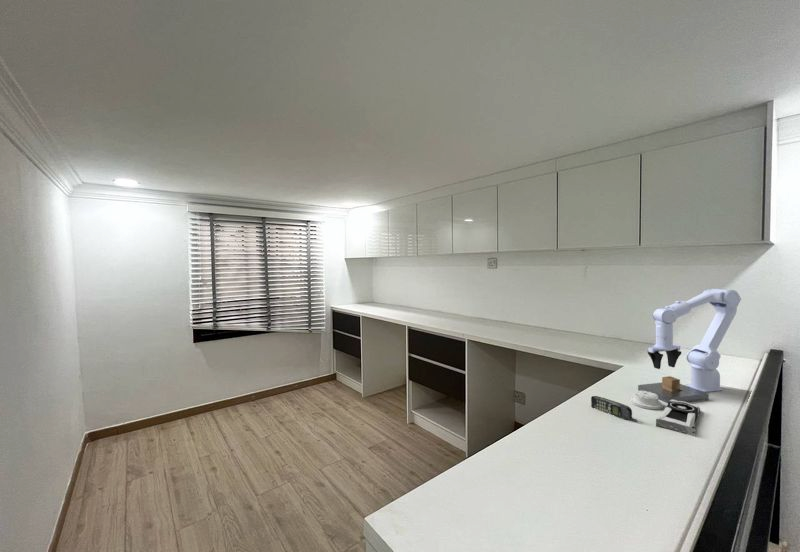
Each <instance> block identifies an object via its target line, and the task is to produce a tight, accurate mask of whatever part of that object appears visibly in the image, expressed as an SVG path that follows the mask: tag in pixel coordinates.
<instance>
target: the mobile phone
mask: <svg viewBox="0 0 800 552" xmlns="http://www.w3.org/2000/svg"><path fill="white" fill-rule="evenodd" d="M590 401H591V403H590V407H591V408H593V409H594V408H595V410H596V411H600V412H603V413H606V414H608V413H609V414H608V415H610V416H611V415H612V416H613V415H614V416H613V417H616V418H619V419H623V420H629V421H630V420H631V421H634V422H638V419H636V418H634V417H633V409H632V408H631V407H630V406H628V405H626V404H623V403H620V402H617V401H615V400H611V399H609V398H606V397H601V396H597V395H593V396H591V397H590Z"/></svg>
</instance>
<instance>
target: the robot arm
mask: <svg viewBox="0 0 800 552" xmlns="http://www.w3.org/2000/svg"><path fill="white" fill-rule="evenodd" d="M741 301H742V298H741V296H740V294H739V292H738V291H737V290H734V289H723V288H715V287H712V288H708V289H706V290H703V291H702V293H700V294H698V295H696V296H694V297H692V298H690V299H688V300H686V301H683V300H675V301H674V303H672V304H670V305H666V306H664V307H663V308H657V309H655V310H654V312H653V314H651V316H652V319H653V320H654V324H655V344H653V345H652V346H650V347H648V348H647V349H648V350H647V354H648V356H649V357H650V359H651V361H652V364H653V368H655V369H657V370H660V369H661V366H662V359H663V357H664V354H663V353H661V352H665V353H666V358H667V364H668V367H669V368H670V367H671V368H675V367H676V364H677V361H678V359H679V357H680V356H681V355H682V351H681V345H678V344H674V329H673V328H674V323H675V322H676V321H677V319H678V318H680V317H683V316H685V315H687V314H689V313H691V311H692V309H695V308H698V307H700V306H702V305H704V304H708V303H709V304H710V306H712V308H713V309H715V311H716V313H715V314H714V317H713V319H712V321H711V322H710V325H709V327H708V329H707V330H706V332H705V334H704V336H703V337H702V339H701V341H700V343H699V344H696V345H694V346H693V347H692V348H691V349H690V350H689V351H688V352H687V353H686V355H685V359H686V361H687V362H688V363H689V366H690V383H686V384H684V385H685V386H688V387H691V388H694V389H697V390H699V391H702V392H705V393H708V392H709V393H710V392H718V391H723V388H721V374H720V372H719V370H718V367H719V366H720V359H721V357H722V356H721V354H720V353H719V351H718V348H719V347H720V345H721V343H722V340H723V339H724V336H725V335H726V333H727V331H729V330H728V329H729V328H730V326H731V324H732V323H733V320H734V319H735V316H736V314H737V310H738V306H739V304H740V303H741Z"/></svg>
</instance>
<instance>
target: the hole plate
mask: <svg viewBox="0 0 800 552" xmlns="http://www.w3.org/2000/svg"><path fill="white" fill-rule="evenodd" d="M638 390H639V391H640V390H641V391H647V392H651V393H655V394H657V395H658V401H660V402H661V401H662V402H664V403H665V404H668V403H669V401H670V400H677V401H683V402H687V403H694V402H695V403H696V402H702V401H709V393H708V392H703V391H700V390H697V389H694V388H691V387H688V386H686V385H685V384H682V383H680V391H679V392H671V391H669V390H666V389H663V388H662V382H656V383H655V382H653V383H646V384H638V385H637V391H638Z"/></svg>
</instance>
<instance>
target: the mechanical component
mask: <svg viewBox="0 0 800 552" xmlns="http://www.w3.org/2000/svg"><path fill="white" fill-rule="evenodd" d="M633 393H634V394H633V396H631V397H630V398H629V399H630V401H629V402H630V403H631V404H632V405H634V406H636V407H638V408H642V409H645V410H653V411H654V410H655V411H656V410H661V409H662V408H663V403H662V402H661V400H659V399H658V395H657V394H655V393H651V392H647V391H641V390H640V391H639V390H638V389H637V390H635V391H634V392H633Z"/></svg>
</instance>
